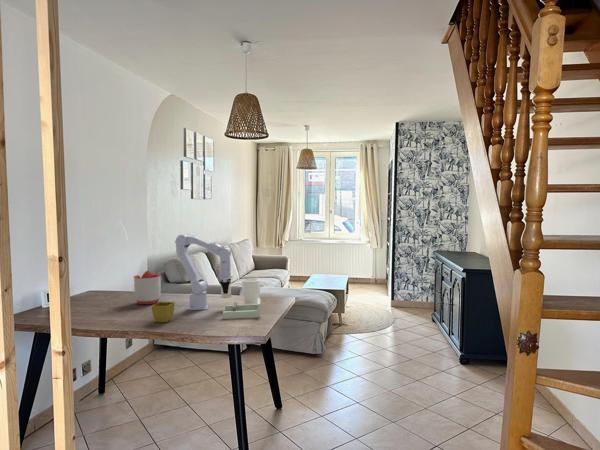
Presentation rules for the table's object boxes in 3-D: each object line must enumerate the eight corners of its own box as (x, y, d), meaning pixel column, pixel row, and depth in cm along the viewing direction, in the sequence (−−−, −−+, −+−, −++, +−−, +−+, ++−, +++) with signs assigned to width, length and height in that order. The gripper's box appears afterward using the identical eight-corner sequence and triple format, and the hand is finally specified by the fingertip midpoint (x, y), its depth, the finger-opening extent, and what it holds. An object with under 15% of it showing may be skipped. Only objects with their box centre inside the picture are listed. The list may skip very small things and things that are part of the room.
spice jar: (220, 298, 224) (220, 282, 223) (221, 296, 229) (221, 280, 229) (231, 297, 224) (230, 281, 224) (231, 295, 230) (231, 279, 230)
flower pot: (151, 323, 200) (150, 305, 200) (159, 318, 209) (159, 301, 208) (167, 323, 199) (167, 306, 198) (175, 319, 208) (175, 302, 207)
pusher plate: (233, 316, 209) (233, 307, 209) (234, 311, 220) (234, 302, 219) (236, 316, 209) (235, 307, 209) (237, 311, 220) (237, 302, 220)
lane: (222, 318, 206) (222, 305, 206) (225, 311, 221) (225, 299, 221) (260, 317, 208) (260, 304, 208) (260, 310, 223) (260, 297, 223)
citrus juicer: (154, 298, 257) (153, 267, 256) (165, 302, 245) (164, 270, 244) (129, 302, 247) (128, 270, 246) (140, 307, 234) (139, 273, 233)
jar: (261, 302, 241) (261, 278, 240) (258, 307, 230) (257, 281, 230) (244, 302, 242) (244, 278, 241) (240, 306, 231) (239, 281, 231)
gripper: (231, 270, 219) (232, 294, 220) (233, 266, 234) (233, 289, 234) (218, 271, 218) (219, 295, 219) (221, 267, 233) (221, 290, 233)
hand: (226, 292), depth 227 cm, fingers closed on spice jar, 5 cm apart
